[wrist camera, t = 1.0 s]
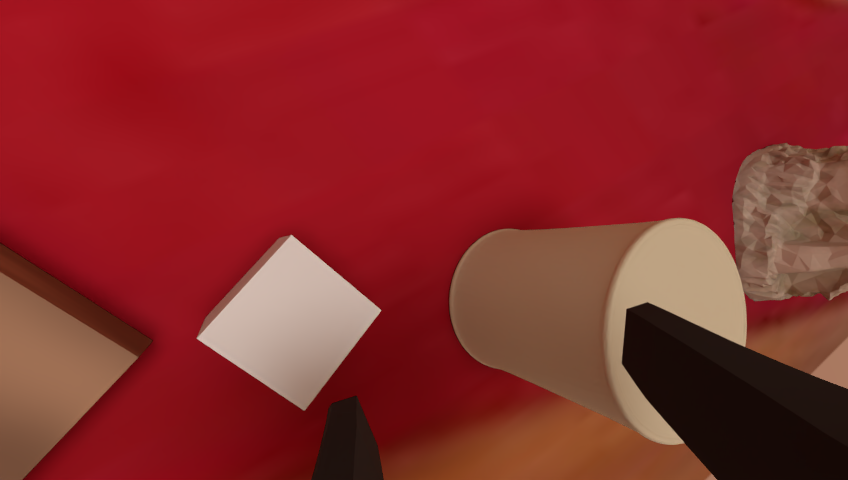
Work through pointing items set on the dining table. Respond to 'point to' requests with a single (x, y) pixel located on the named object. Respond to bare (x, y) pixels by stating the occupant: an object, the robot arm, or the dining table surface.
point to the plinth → (51, 360)
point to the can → (591, 305)
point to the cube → (289, 321)
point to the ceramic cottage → (792, 222)
